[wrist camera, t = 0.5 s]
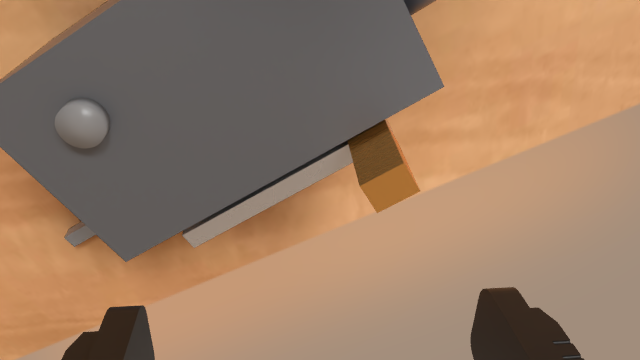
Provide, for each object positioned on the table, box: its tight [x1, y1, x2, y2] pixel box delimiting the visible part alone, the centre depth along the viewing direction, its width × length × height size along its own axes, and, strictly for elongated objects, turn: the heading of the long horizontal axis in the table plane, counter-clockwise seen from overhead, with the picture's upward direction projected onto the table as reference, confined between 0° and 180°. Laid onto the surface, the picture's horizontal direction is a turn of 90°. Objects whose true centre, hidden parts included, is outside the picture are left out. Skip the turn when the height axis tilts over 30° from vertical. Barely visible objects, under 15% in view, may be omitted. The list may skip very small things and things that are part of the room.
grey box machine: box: [0, 0, 444, 262], centre depth 27 cm, size 29×12×11 cm, turn 120°
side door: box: [182, 119, 420, 248], centre depth 27 cm, size 12×2×12 cm, turn 120°
